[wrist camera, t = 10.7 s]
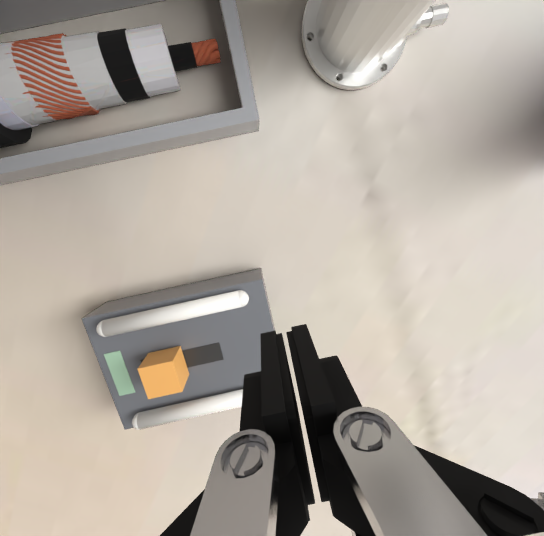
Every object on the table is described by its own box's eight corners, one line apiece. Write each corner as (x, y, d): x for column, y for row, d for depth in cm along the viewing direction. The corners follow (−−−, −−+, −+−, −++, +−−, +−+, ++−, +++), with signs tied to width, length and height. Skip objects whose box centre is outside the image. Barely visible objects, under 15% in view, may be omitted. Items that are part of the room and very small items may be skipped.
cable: (223, 94, 39) (234, 108, 32) (-42, 147, 35) (-101, 177, 28) (202, -5, 33) (209, -19, 25) (-125, 46, 29) (-231, 49, 21)
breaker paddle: (180, 345, 35) (172, 361, 32) (189, 374, 36) (182, 391, 33) (148, 352, 35) (137, 368, 32) (158, 380, 36) (148, 399, 33)
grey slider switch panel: (261, 268, 40) (262, 279, 34) (283, 367, 44) (288, 393, 38) (106, 301, 40) (81, 319, 34) (142, 399, 43) (124, 430, 38)
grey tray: (226, -29, 32) (221, -70, 28) (258, 130, 36) (259, 119, 31) (-135, 44, 32) (-205, 15, 27) (-63, 198, 36) (-113, 197, 31)
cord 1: (246, 286, 34) (246, 291, 32) (250, 301, 35) (250, 307, 33) (99, 318, 34) (90, 325, 32) (105, 333, 35) (96, 341, 33)
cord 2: (269, 379, 37) (270, 389, 35) (272, 392, 38) (273, 403, 36) (133, 410, 37) (127, 421, 35) (138, 422, 38) (132, 434, 36)
